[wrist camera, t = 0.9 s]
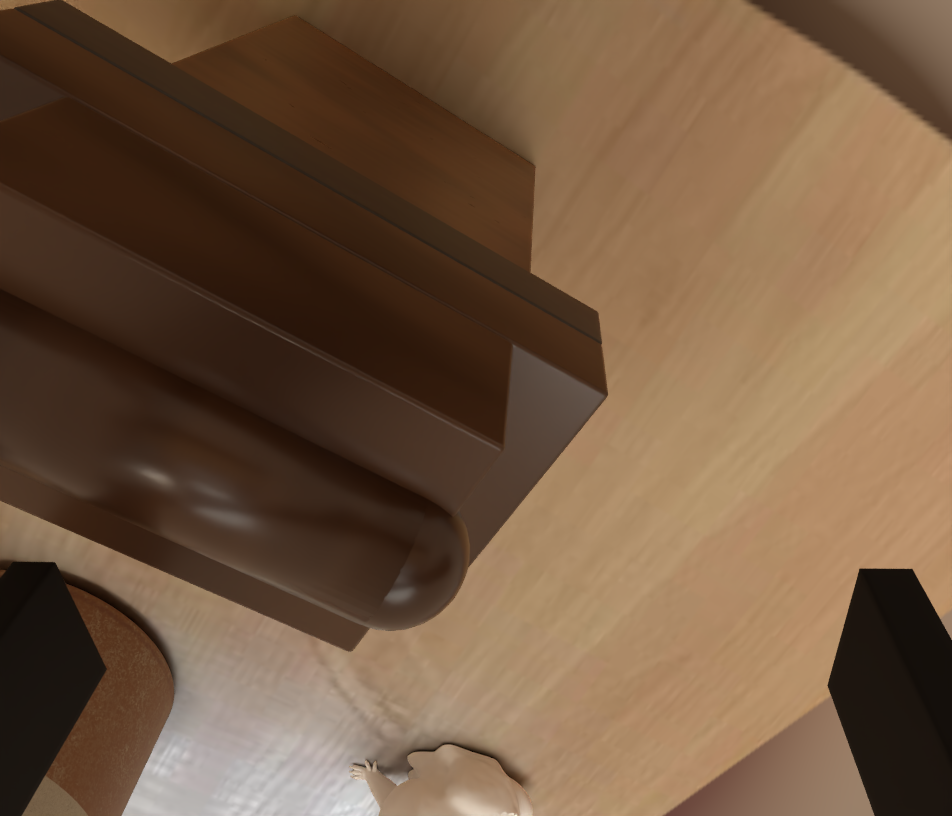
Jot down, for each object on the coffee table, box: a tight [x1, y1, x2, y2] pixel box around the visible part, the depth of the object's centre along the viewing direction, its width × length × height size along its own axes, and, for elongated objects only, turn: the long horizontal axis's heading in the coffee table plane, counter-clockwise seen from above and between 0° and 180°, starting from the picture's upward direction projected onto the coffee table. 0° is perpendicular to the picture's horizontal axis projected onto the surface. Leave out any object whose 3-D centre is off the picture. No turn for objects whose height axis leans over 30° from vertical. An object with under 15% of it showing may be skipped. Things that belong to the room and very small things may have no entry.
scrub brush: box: [0, 0, 608, 652], centre depth 14 cm, size 12×5×8 cm, turn 60°
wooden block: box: [172, 15, 535, 272], centre depth 23 cm, size 10×4×14 cm, turn 60°
